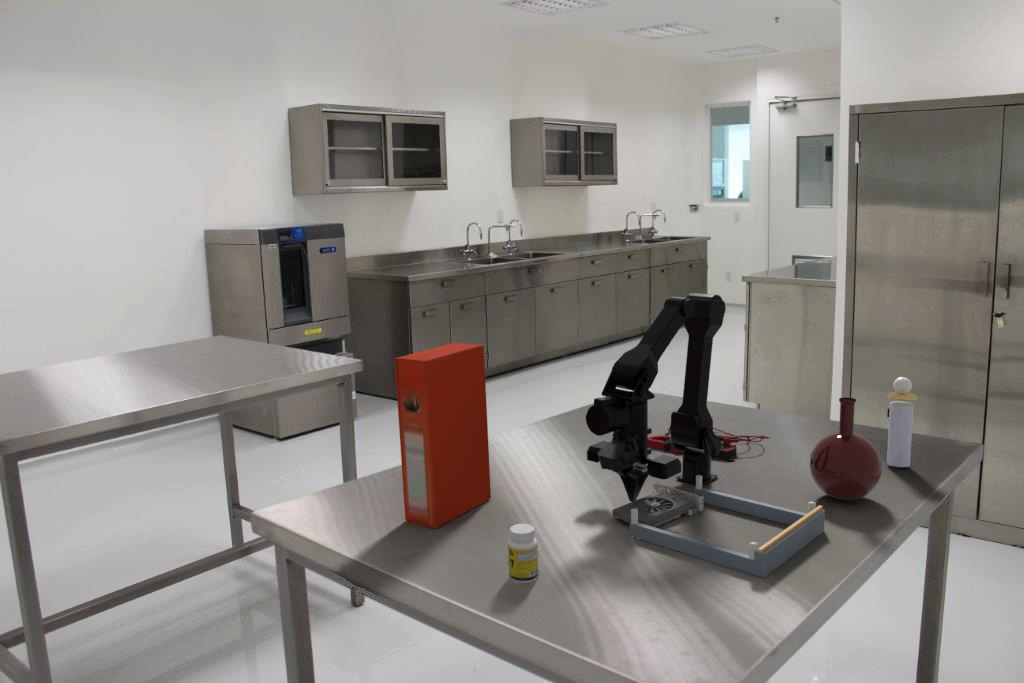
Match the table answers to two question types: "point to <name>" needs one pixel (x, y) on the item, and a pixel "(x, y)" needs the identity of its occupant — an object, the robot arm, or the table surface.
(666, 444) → the digital clamp meter
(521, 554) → the supplement bottle
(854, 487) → the round-bottom flask
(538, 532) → the table surface
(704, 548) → the frame
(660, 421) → the table surface
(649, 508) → the graphics card
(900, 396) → the perfume bottle
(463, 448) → the file binder
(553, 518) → the table surface
